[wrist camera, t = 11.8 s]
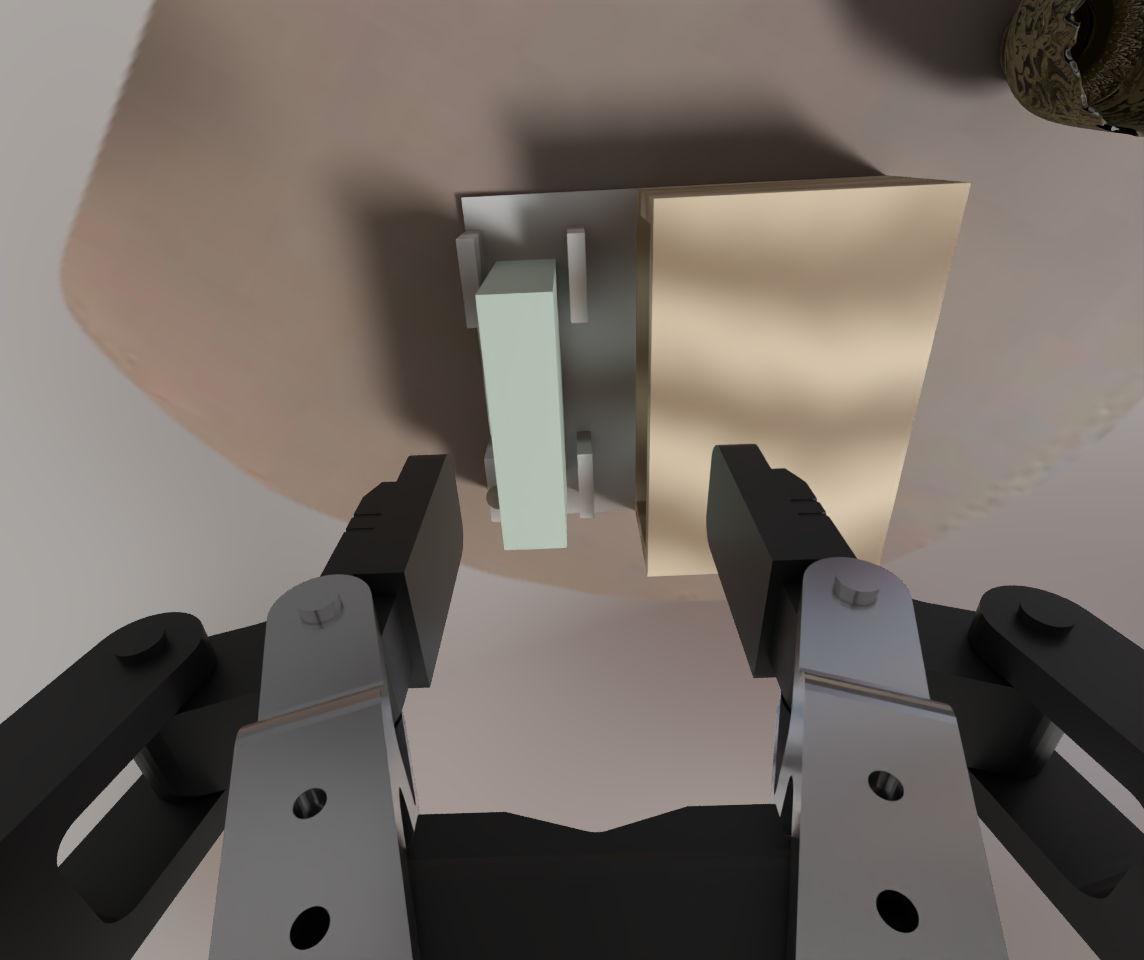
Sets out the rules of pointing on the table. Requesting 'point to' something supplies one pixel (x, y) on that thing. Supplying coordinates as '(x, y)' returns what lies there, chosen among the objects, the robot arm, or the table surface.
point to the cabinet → (732, 338)
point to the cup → (1078, 62)
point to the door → (525, 401)
